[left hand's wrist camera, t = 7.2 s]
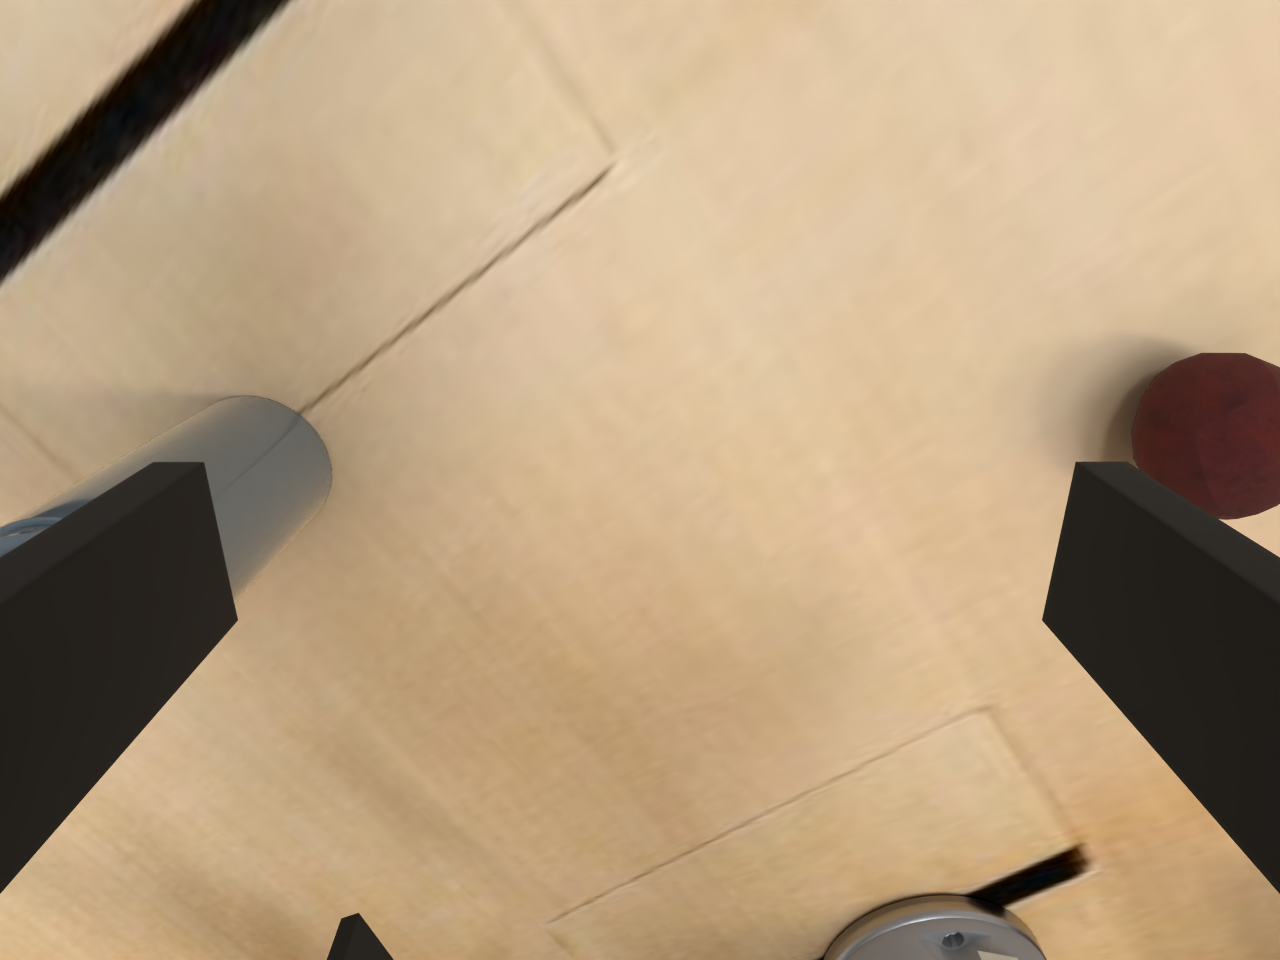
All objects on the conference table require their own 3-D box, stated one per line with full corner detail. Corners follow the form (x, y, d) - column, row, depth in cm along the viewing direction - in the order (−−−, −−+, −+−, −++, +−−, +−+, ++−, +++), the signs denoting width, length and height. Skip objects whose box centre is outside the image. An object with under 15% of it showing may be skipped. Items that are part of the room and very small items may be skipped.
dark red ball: (1134, 507, 43) (1223, 570, 36) (1076, 388, 40) (1161, 433, 34) (1272, 433, 41) (1392, 486, 35) (1221, 305, 39) (1340, 335, 32)
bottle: (208, 535, 43) (-123, 826, 25) (167, 401, 41) (-242, 612, 22) (345, 525, 43) (118, 810, 24) (313, 389, 40) (28, 593, 22)
